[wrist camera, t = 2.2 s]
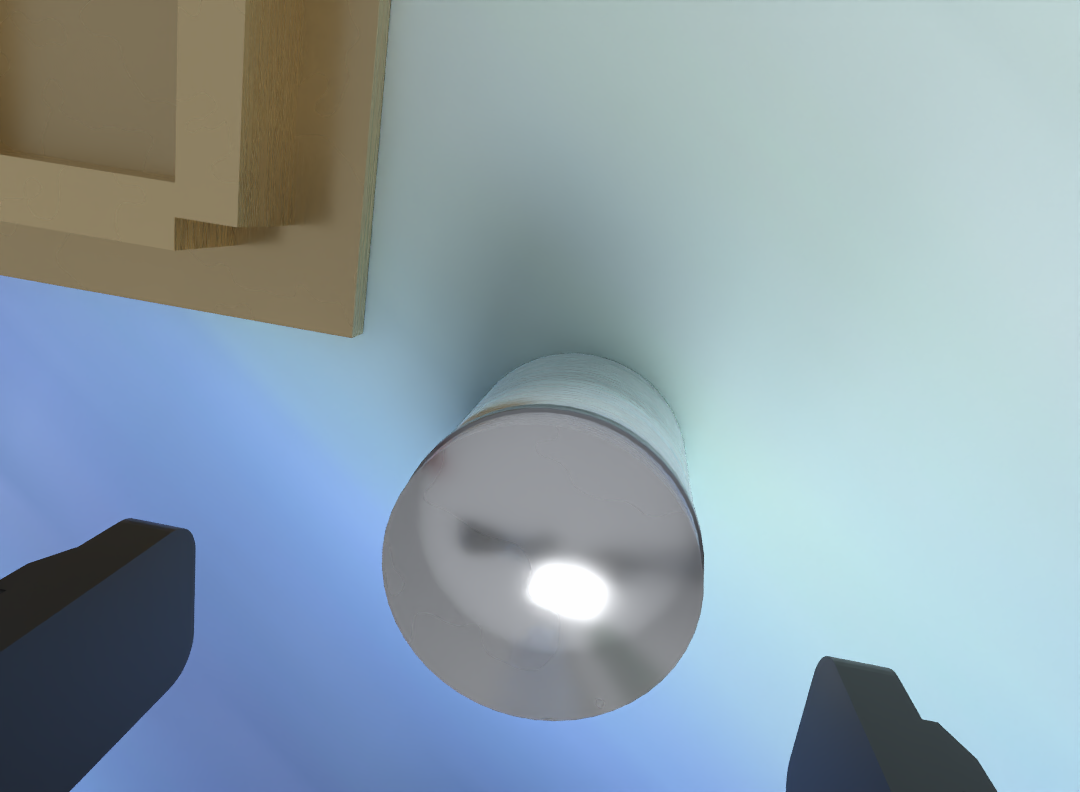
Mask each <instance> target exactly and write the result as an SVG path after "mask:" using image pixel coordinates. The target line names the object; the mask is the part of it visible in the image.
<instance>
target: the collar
mask: <svg viewBox="0 0 1080 792" xmlns="http://www.w3.org/2000/svg"><path fill="white" fill-rule="evenodd" d="M390 6H391V0H0V275H3V276H9V277H14V278H20V279H25V280H31V281H37V282H42V283H48V284H53V285H59V286H64V287H70V288H76V289H81V290H87V291H92V292H98V293H104V294H109V295H115V296H120V297H126V298H131V299H137V300H143V301H148V302H154V303H159V304H165V305H171V306H176V307H182V308H187V309H193V310H198V311H204V312H210V313H215V314H221V315H226V316H232V317H238V318H243V319H249V320H254V321H260V322H265V323H271V324H277V325H282V326H288V327H293V328H299V329H305V330H310V331H316V332H321V333H327V334H332V335H338V336H344V337H349V338H353V337H355V336H358V335H360V334H362V333H363V324H364V312H365V300H366V289H367V277H368V265H369V253H370V241H371V230H372V218H373V206H374V194H375V183H376V171H377V159H378V147H379V135H380V124H381V112H382V100H383V88H384V77H385V65H386V53H387V41H388V29H389V18H390Z"/></svg>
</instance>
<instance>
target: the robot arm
mask: <svg viewBox="0 0 1080 792" xmlns="http://www.w3.org/2000/svg"><path fill="white" fill-rule="evenodd" d="M194 597H195V541H194V538H193V535H192V534H191V532H190V531H189V530H187V529H184V528H179V527H174V526H169V525H164V524H159V523H153V522H148V521H143V520H138V519H133V518H128V519H124V520H122V521H120V522H118V523H117V524H115V525H113V526H112V527H110V528H108V529H107V530H105V531H104V532H102V533H100V534H99V535H97V536H95V537H94V538H92V539H90V540H89V541H87V542H85V543H84V544H82V545H80V546H79V547H77V548H73V549H70V550H67V551H64V552H61V553H58V554H55V555H52V556H49V557H46V558H43V559H40V560H37V561H34V562H31V563H28V564H26V565H25V566H23V567H21V568H20V569H18V570H16V571H14V572H13V573H11V574H9V575H8V576H6V577H4V578H2V579H1V580H0V792H70V790H71V789H72V788H73V787H74V786H75V785H76V784H77V783H78V782H79V781H80V780H81V779H82V778H83V777H84V776H85V775H86V774H87V773H88V772H89V771H90V770H91V769H92V768H93V767H94V766H95V765H96V764H97V763H98V762H99V761H100V760H101V759H102V758H103V756H104V755H105V754H106V753H107V752H108V751H109V750H110V749H111V748H112V747H113V746H114V745H115V744H116V743H117V742H118V741H119V740H120V739H121V738H122V737H123V736H124V735H125V734H126V733H127V732H128V731H129V730H130V729H131V728H132V727H133V726H134V725H135V724H136V722H137V721H138V720H139V719H140V718H141V717H142V716H143V715H144V714H145V713H146V712H147V711H148V710H149V709H150V708H151V707H152V706H153V705H154V704H155V703H156V702H157V701H158V700H159V699H160V698H161V697H162V696H163V695H164V694H165V693H166V692H167V691H168V690H169V688H170V687H171V686H172V685H173V684H174V683H175V681H176V680H177V679H178V677H179V676H180V674H181V672H182V671H183V669H184V667H185V665H186V662H187V660H188V657H189V654H190V651H191V647H192V643H193V636H194ZM786 792H997V790H996V789H995V787H994V786H993V784H992V782H991V781H990V779H989V778H988V776H987V774H986V773H985V771H984V770H983V768H982V766H981V765H980V763H979V762H978V760H977V759H976V758H975V757H974V756H973V755H972V754H971V753H970V752H969V751H968V750H967V749H966V748H964V747H963V746H962V745H961V744H960V743H959V742H958V741H957V740H956V739H955V738H954V737H953V736H952V735H951V734H949V733H948V732H947V731H946V730H945V729H944V728H943V727H942V726H941V725H940V724H939V723H938V722H933V721H928V720H923V719H921V717H920V715H919V713H918V712H917V710H916V708H915V706H914V704H913V703H912V701H911V699H910V697H909V696H908V694H907V692H906V690H905V688H904V687H903V685H902V683H901V681H900V680H899V678H898V676H897V675H896V673H895V672H894V671H893V670H892V669H889V668H885V667H880V666H875V665H870V664H865V663H860V662H855V661H850V660H845V659H840V658H834V657H829V656H825V657H823V658H822V659H821V660H820V661H819V663H818V665H817V667H816V669H815V672H814V676H813V679H812V683H811V686H810V690H809V693H808V697H807V700H806V704H805V708H804V711H803V715H802V718H801V722H800V725H799V729H798V732H797V736H796V740H795V743H794V747H793V750H792V754H791V757H790V761H789V766H788V772H787V782H786Z"/></svg>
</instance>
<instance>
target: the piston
mask: <svg viewBox="0 0 1080 792" xmlns="http://www.w3.org/2000/svg"><path fill="white" fill-rule="evenodd" d="M382 571H383V580H384V587H385V591H386V595H387V599H388V604H389V606H390V609H391V611H392V614H393V617H394V619H395V622H396V624H397V625H398V627H399V629H400V631H401V633H402V635H403V637H404V638H405V640H406V641H407V643H408V644H409V646H410V647H411V648H412V650H413V651H414V653H415V654H416V655H417V656H418V657H419V659H420V660H421V661H422V662H423V663H424V664H425V665H426V666H427V668H428V669H429V670H431V671H432V672H433V673H434V674H435V675H436V676H437V677H438V678H440V679H441V680H442V681H443V682H444V683H446V684H447V685H448V686H450V687H451V688H453V689H454V690H456V691H457V692H458V693H460V694H462V695H463V696H465V697H467V698H469V699H471V700H473V701H474V702H476V703H478V704H481V705H483V706H485V707H488V708H490V709H493V710H495V711H498V712H502V713H505V714H509V715H512V716H516V717H521V718H527V719H533V720H547V721H564V720H577V719H583V718H588V717H594V716H597V715H601V714H604V713H607V712H610V711H614V710H616V709H618V708H620V707H622V706H625V705H627V704H629V703H631V702H633V701H634V700H636V699H638V698H639V697H641V696H642V695H644V694H646V693H647V692H649V691H650V690H651V689H652V688H653V687H655V686H656V685H657V684H658V683H660V682H661V681H662V680H663V679H664V678H665V677H666V676H667V675H668V673H669V672H670V671H671V670H672V669H673V668H674V667H675V666H676V664H677V663H678V661H679V660H680V658H681V657H682V655H683V654H684V653H685V651H686V649H687V647H688V645H689V643H690V641H691V639H692V637H693V635H694V633H695V630H696V627H697V623H698V620H699V617H700V613H701V607H702V601H703V581H704V552H703V545H702V537H701V531H700V525H699V522H698V518H697V515H696V511H695V508H694V506H693V500H692V493H691V487H690V480H689V473H688V467H687V460H686V453H685V447H684V440H683V437H682V433H681V430H680V426H679V424H678V422H677V420H676V417H675V415H674V413H673V411H672V410H671V408H670V407H669V405H668V403H667V402H666V400H665V399H664V398H663V397H662V395H661V394H660V393H659V392H658V391H657V389H656V388H654V387H653V386H652V385H651V384H650V383H649V382H648V381H647V380H646V379H644V378H643V377H642V376H640V375H639V374H638V373H636V372H635V371H633V370H631V369H629V368H628V367H626V366H624V365H622V364H620V363H617V362H615V361H612V360H610V359H607V358H603V357H599V356H595V355H589V354H580V353H565V354H556V355H550V356H545V357H542V358H539V359H535V360H532V361H530V362H528V363H526V364H523V365H521V366H519V367H518V368H516V369H515V370H513V371H511V372H510V373H508V374H507V375H506V376H505V377H503V378H502V379H501V380H500V381H498V382H497V383H496V385H495V386H494V387H493V388H492V389H491V390H490V391H489V392H488V393H487V394H486V395H485V397H484V398H483V399H482V400H481V401H480V402H479V403H478V404H477V405H476V407H475V408H474V409H473V410H472V411H471V412H470V413H469V414H468V416H467V417H466V418H465V419H464V420H463V421H462V422H461V423H460V424H459V426H458V427H457V428H456V429H455V430H454V431H453V432H452V433H451V434H449V435H448V436H447V437H446V438H444V439H443V440H442V441H441V442H440V443H439V444H438V445H437V446H436V447H435V448H434V449H433V450H432V451H431V452H430V453H429V454H428V455H427V457H426V458H425V459H424V460H423V461H422V462H421V464H420V465H419V466H418V468H417V469H416V471H415V472H414V474H413V475H412V477H411V478H410V480H409V482H408V484H407V485H406V487H405V488H404V489H403V491H402V492H401V494H400V496H399V498H398V500H397V502H396V504H395V506H394V508H393V510H392V512H391V515H390V518H389V521H388V524H387V527H386V531H385V537H384V543H383V552H382Z"/></svg>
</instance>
